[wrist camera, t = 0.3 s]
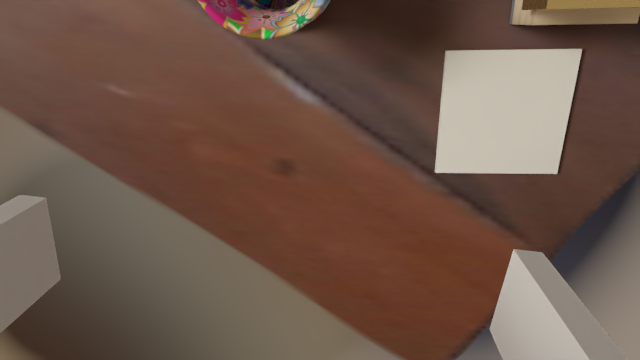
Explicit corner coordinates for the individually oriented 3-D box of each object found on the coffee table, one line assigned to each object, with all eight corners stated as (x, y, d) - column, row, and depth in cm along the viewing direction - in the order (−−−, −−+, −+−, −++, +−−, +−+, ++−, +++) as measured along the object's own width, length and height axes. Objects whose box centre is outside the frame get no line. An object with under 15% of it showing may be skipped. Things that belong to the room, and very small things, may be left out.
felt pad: (445, 50, 35) (446, 50, 35) (580, 48, 34) (582, 48, 34) (434, 171, 39) (435, 172, 39) (555, 172, 38) (557, 174, 38)
